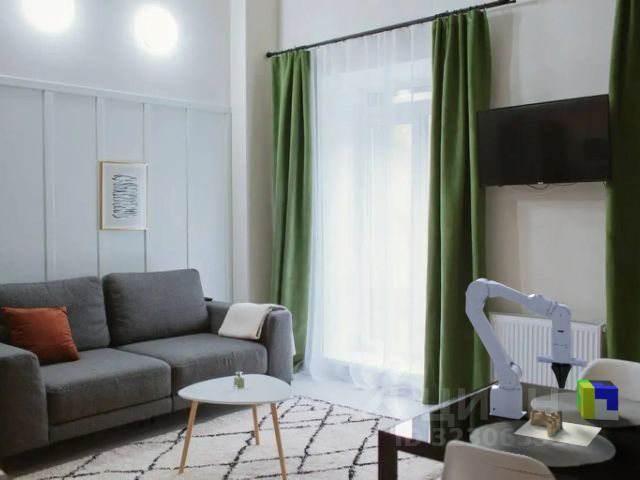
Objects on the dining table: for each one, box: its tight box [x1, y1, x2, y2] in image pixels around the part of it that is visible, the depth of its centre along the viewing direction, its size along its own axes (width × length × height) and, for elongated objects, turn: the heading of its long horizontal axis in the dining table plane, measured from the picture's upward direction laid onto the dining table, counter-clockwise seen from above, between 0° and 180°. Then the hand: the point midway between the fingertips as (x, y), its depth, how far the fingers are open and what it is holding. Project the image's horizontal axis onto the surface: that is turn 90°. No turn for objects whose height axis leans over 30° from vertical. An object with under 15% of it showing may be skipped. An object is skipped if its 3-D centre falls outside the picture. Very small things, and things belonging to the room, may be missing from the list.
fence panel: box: [548, 413, 560, 436], centre depth 186 cm, size 7×1×4 cm, turn 140°
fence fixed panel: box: [529, 408, 563, 429], centre depth 192 cm, size 9×1×5 cm, turn 55°
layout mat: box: [513, 419, 602, 447], centre depth 189 cm, size 20×18×1 cm
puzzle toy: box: [576, 379, 619, 421], centre depth 203 cm, size 10×10×10 cm
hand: (561, 387), depth 199 cm, fingers closed
